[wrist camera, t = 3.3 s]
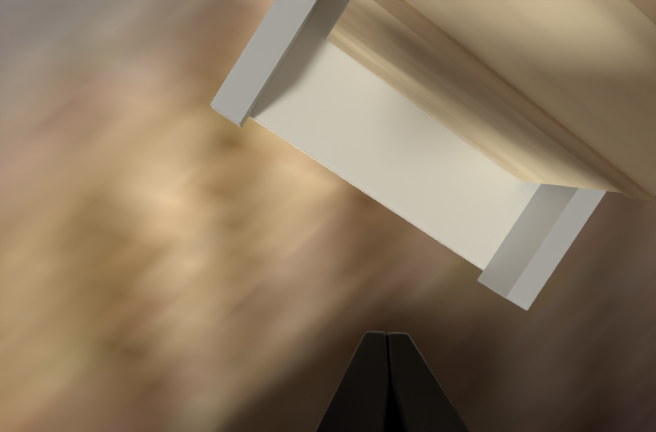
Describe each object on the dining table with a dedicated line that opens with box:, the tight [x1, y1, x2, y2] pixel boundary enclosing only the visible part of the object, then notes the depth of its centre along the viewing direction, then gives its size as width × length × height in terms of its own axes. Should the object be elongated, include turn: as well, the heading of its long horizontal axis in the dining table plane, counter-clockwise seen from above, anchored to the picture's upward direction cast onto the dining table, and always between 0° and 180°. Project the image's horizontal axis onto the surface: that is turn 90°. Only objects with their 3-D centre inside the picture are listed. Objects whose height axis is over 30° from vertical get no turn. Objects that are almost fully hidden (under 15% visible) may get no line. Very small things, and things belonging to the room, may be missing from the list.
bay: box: [210, 0, 606, 310], centre depth 18 cm, size 19×16×6 cm
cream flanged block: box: [327, 0, 656, 200], centre depth 13 cm, size 6×11×13 cm, turn 56°
